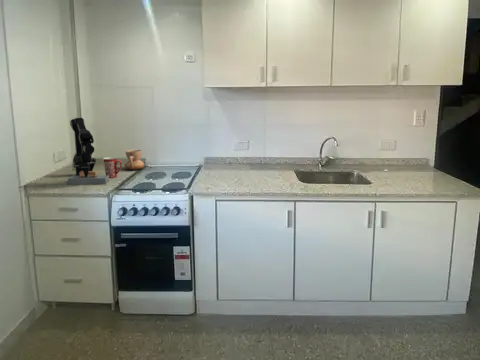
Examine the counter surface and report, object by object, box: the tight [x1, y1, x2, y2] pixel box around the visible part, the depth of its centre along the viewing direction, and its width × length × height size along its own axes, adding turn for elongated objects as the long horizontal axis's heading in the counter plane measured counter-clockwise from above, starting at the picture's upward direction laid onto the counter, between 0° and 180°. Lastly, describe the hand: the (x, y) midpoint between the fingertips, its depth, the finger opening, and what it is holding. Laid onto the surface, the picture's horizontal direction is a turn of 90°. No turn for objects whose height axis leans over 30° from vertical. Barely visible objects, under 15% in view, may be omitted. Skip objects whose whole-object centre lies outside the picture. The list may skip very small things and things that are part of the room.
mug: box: [102, 156, 123, 179], centre depth 308 cm, size 13×9×14 cm
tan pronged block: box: [79, 170, 98, 178], centre depth 291 cm, size 4×10×6 cm, turn 92°
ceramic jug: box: [124, 149, 145, 171], centre depth 334 cm, size 18×14×14 cm
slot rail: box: [67, 174, 110, 186], centre depth 292 cm, size 9×24×4 cm, turn 92°
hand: (88, 175), depth 291 cm, fingers open, 9 cm apart
